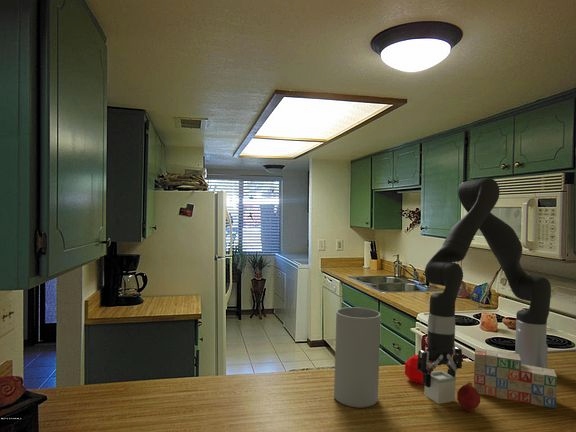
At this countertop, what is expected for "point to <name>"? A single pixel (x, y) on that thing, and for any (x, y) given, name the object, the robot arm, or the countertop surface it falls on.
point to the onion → (468, 397)
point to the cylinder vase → (357, 356)
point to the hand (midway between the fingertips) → (438, 384)
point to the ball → (413, 370)
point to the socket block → (441, 387)
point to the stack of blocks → (513, 378)
